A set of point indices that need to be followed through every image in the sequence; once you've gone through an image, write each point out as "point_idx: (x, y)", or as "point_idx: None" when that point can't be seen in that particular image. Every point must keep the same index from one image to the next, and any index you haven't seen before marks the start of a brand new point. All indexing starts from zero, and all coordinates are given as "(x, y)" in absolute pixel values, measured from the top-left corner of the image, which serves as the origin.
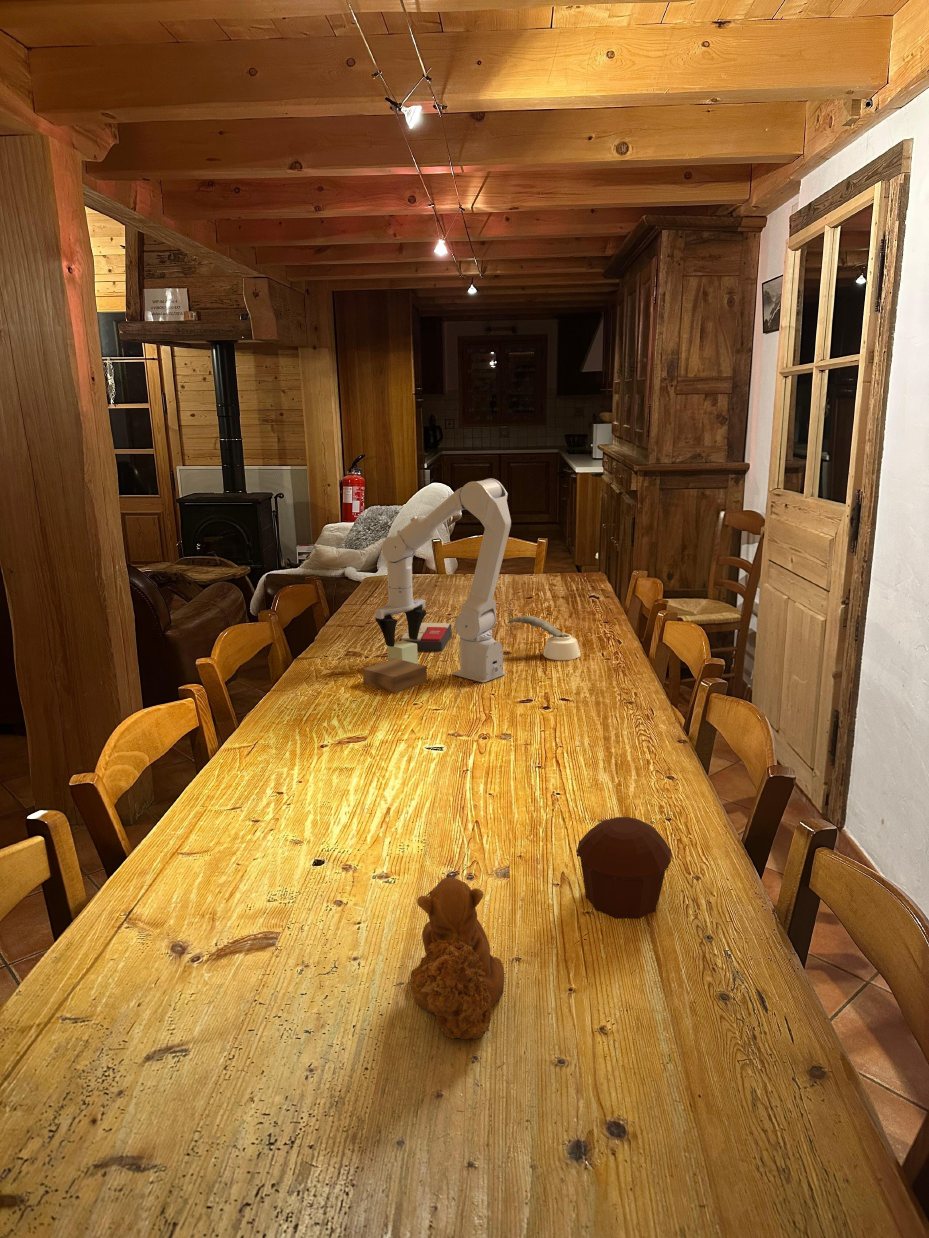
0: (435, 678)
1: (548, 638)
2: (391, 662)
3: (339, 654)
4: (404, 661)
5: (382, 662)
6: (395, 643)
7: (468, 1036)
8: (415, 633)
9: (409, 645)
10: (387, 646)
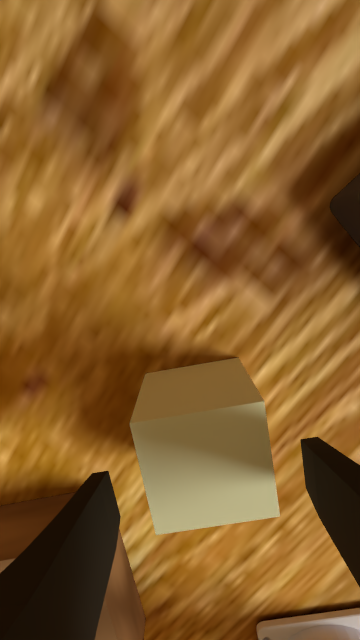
0: (189, 609)
1: None
2: None
3: (26, 43)
4: None
5: (2, 563)
6: (185, 432)
7: None
8: (329, 527)
9: (225, 515)
10: (131, 418)
